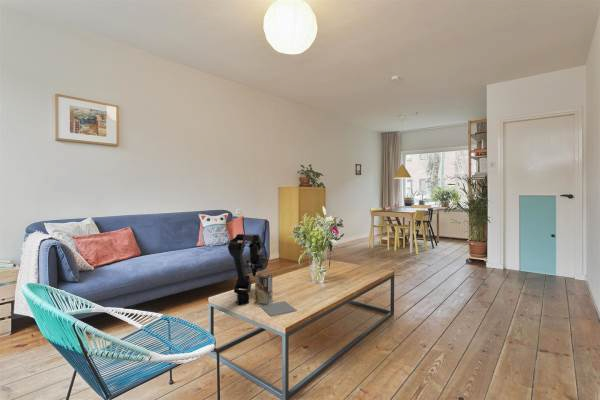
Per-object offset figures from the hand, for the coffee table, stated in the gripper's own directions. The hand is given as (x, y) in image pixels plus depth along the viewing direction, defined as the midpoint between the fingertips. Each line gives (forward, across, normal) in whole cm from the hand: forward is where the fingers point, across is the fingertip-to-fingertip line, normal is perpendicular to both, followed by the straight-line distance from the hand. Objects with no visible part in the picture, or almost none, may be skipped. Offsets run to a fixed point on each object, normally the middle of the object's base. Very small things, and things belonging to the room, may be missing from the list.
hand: (254, 276), depth 199 cm
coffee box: (+11, -18, 0) cm, 21 cm away
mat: (+11, -32, -3) cm, 33 cm away
